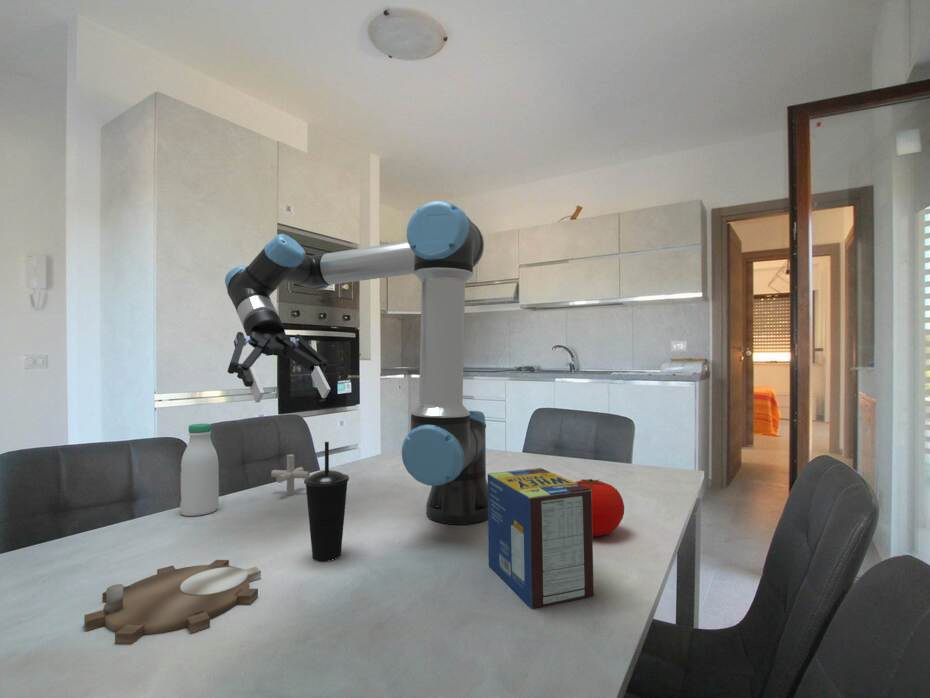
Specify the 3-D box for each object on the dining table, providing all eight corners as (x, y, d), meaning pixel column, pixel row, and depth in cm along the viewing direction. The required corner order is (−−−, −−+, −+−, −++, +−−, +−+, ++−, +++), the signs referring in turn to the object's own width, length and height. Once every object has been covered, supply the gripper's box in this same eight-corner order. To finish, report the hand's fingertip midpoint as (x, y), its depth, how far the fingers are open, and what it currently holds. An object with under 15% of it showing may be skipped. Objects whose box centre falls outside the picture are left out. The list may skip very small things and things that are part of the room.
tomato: (573, 519, 103) (572, 470, 104) (629, 528, 98) (628, 476, 98) (554, 537, 93) (553, 482, 93) (616, 548, 87) (615, 490, 87)
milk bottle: (226, 508, 113) (226, 423, 113) (195, 518, 106) (195, 427, 106) (203, 505, 116) (203, 421, 116) (172, 514, 109) (172, 425, 109)
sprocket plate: (286, 568, 80) (286, 542, 80) (210, 645, 58) (210, 610, 58) (159, 566, 81) (159, 541, 81) (38, 641, 59) (38, 607, 60)
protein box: (542, 556, 84) (541, 467, 84) (595, 596, 70) (593, 488, 70) (486, 565, 80) (485, 472, 81) (530, 610, 66) (529, 496, 66)
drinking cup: (325, 568, 80) (325, 447, 80) (294, 559, 84) (294, 443, 84) (358, 553, 86) (358, 440, 87) (328, 544, 90) (328, 437, 91)
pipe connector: (297, 500, 119) (297, 459, 119) (261, 498, 121) (261, 458, 121) (317, 489, 129) (317, 452, 129) (284, 488, 131) (284, 451, 131)
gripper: (308, 336, 114) (343, 404, 104) (193, 332, 96) (221, 413, 86) (320, 312, 111) (357, 380, 100) (203, 303, 93) (233, 384, 82)
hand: (295, 395), depth 93 cm, fingers open, 13 cm apart
